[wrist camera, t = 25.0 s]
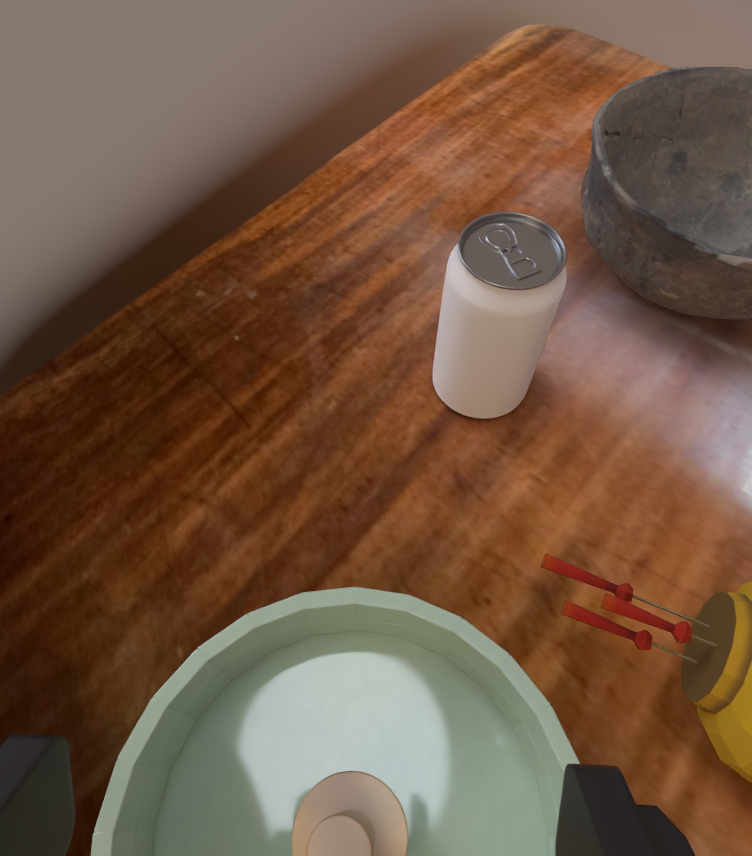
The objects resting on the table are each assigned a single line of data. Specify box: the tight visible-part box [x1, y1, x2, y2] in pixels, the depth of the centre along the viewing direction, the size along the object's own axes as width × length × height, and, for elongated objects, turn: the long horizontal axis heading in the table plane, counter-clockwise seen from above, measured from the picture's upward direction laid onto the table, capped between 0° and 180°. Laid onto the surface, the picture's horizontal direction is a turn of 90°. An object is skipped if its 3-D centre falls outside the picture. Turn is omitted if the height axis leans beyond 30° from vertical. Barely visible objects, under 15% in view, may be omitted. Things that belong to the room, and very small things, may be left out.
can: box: [433, 212, 567, 419], centre depth 37 cm, size 6×6×12 cm
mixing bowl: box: [91, 587, 580, 856], centre depth 27 cm, size 20×20×6 cm
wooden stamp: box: [292, 771, 409, 856], centre depth 24 cm, size 5×5×12 cm
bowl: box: [581, 67, 752, 319], centre depth 44 cm, size 21×21×10 cm
